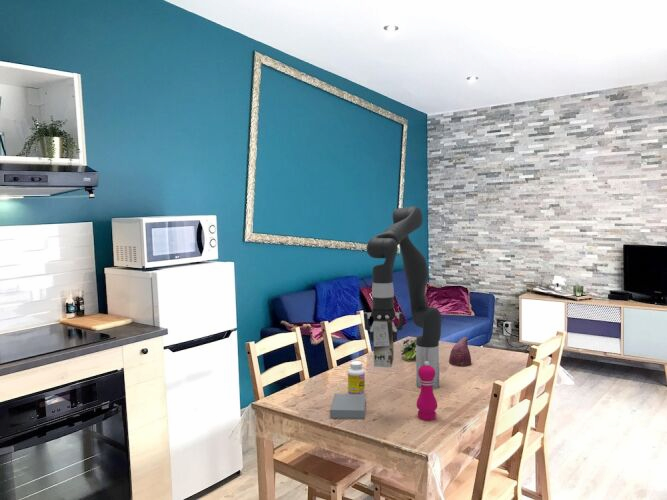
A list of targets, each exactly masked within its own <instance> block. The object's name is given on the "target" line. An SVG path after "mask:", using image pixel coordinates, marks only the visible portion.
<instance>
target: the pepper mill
mask: <svg viewBox="0 0 667 500" xmlns="http://www.w3.org/2000/svg"><path fill="white" fill-rule="evenodd" d="M418 375H419V377H420V384H421V388H420V393H419V395H418V396H417V399H416V407H417V409H418V410H417V417H418V419H420V420H423V421H433V420H435V419H436V418H437V412H436V410H437V408H438V402H437V401H438V400H437V399H436V396H435V393H434V390H433V389H434V388H433V384H434V379H433V378H434V377H435V369H434V368H433V367H432V366H429V362H428V361H425V362H424V365H423V366H421V367H420V368H419V370H418Z"/></svg>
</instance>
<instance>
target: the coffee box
mask: <svg viewBox="0 0 667 500" xmlns="http://www.w3.org/2000/svg"><path fill="white" fill-rule="evenodd" d="M392 322H394V318H393V319H391V320H387V319H380V320H374V319H373V322H372V324H373V331H374V342H373V367H375V368H378V367H379V368H392V367H393V363H394V357H395V356H394V355H395V353H394V352H395V351H394V342H393V329H392Z"/></svg>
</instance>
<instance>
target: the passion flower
mask: <svg viewBox="0 0 667 500" xmlns="http://www.w3.org/2000/svg"><path fill="white" fill-rule="evenodd" d="M402 345H403V346H402V347H401V350H400V356H403V360H404V361H408V360H410V359H411V360H412V359H413V358H415V357H416V339H413V340H411V341H410V339H406V340H403V343H402Z"/></svg>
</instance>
